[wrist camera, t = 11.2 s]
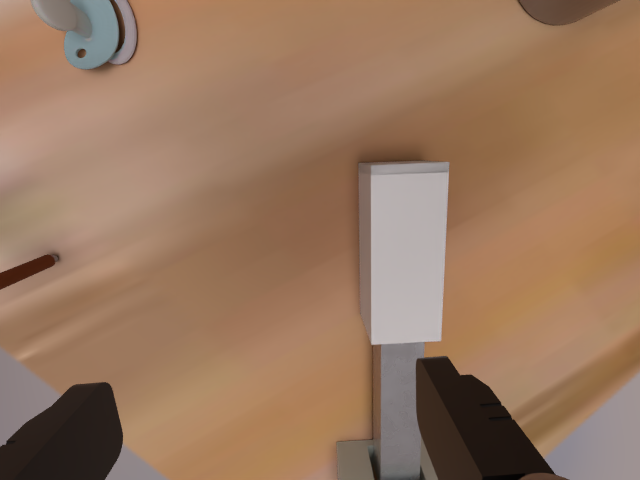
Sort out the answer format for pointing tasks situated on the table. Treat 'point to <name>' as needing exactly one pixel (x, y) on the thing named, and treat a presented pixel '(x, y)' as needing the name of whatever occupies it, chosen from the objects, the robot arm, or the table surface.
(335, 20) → the table surface
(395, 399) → the steel tube
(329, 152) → the table surface
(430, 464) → the socket block
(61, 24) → the pacifier
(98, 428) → the robot arm
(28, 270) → the magnifying glass
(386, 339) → the grey sleeve
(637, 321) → the table surface
